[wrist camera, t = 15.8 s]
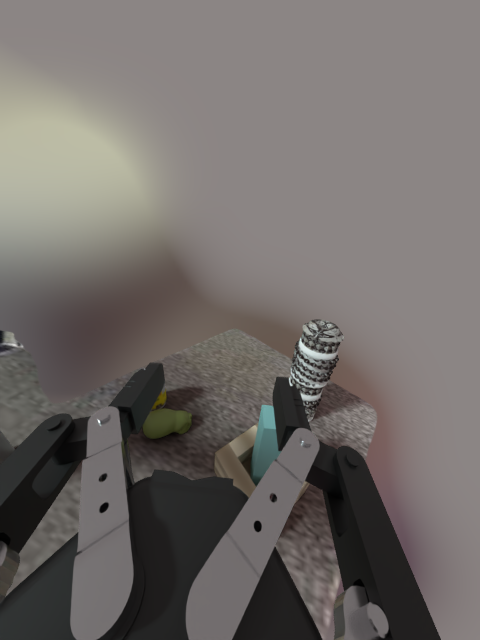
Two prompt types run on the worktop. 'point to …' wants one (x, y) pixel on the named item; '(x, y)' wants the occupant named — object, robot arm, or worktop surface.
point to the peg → (264, 445)
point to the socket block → (241, 462)
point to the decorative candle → (314, 361)
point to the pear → (166, 422)
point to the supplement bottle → (160, 400)
